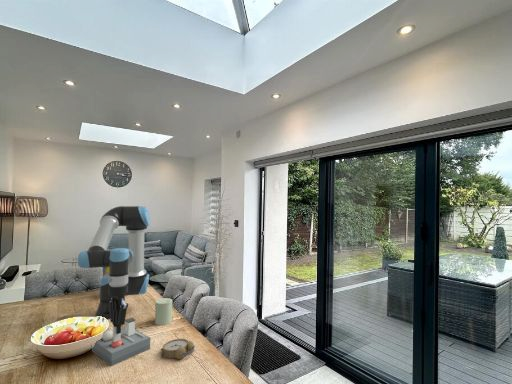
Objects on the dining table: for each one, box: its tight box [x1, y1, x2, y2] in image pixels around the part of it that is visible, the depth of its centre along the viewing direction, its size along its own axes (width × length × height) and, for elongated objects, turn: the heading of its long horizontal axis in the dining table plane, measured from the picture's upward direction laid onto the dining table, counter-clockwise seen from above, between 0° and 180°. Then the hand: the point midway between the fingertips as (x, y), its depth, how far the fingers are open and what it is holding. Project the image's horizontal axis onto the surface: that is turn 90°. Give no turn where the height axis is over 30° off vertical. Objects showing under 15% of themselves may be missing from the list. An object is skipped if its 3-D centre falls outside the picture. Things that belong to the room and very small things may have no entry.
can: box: [154, 297, 173, 326], centre depth 153 cm, size 9×9×12 cm
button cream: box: [102, 329, 113, 342], centre depth 123 cm, size 4×4×4 cm
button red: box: [111, 339, 122, 348], centre depth 118 cm, size 4×4×4 cm
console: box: [91, 327, 151, 366], centre depth 123 cm, size 19×17×6 cm
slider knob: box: [124, 317, 136, 336], centre depth 127 cm, size 3×3×7 cm
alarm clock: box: [160, 338, 196, 360], centre depth 121 cm, size 11×5×15 cm
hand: (116, 340), depth 118 cm, fingers closed
